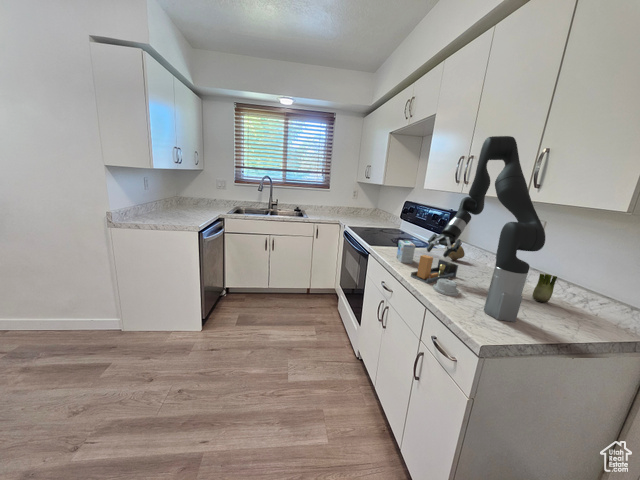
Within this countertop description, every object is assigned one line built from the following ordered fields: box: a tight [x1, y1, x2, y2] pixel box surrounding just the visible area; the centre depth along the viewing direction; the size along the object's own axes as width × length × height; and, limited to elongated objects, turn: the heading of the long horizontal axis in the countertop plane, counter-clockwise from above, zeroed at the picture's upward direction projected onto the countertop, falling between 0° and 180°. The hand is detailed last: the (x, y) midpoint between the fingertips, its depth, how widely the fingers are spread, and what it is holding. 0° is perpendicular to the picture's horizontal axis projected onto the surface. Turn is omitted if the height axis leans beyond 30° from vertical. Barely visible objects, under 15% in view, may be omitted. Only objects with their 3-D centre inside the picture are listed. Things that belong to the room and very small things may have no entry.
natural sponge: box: [447, 244, 465, 261], centre depth 156 cm, size 9×9×10 cm
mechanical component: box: [432, 278, 460, 297], centre depth 109 cm, size 10×4×10 cm
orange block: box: [417, 254, 439, 279], centre depth 121 cm, size 9×6×10 cm
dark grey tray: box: [410, 266, 455, 284], centre depth 125 cm, size 23×9×2 cm, turn 124°
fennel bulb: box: [532, 273, 558, 304], centre depth 105 cm, size 6×5×12 cm
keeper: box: [437, 259, 459, 278], centre depth 129 cm, size 6×10×6 cm
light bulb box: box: [395, 239, 416, 265], centre depth 147 cm, size 11×7×11 cm, turn 178°
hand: (435, 253), depth 122 cm, fingers open, 8 cm apart
